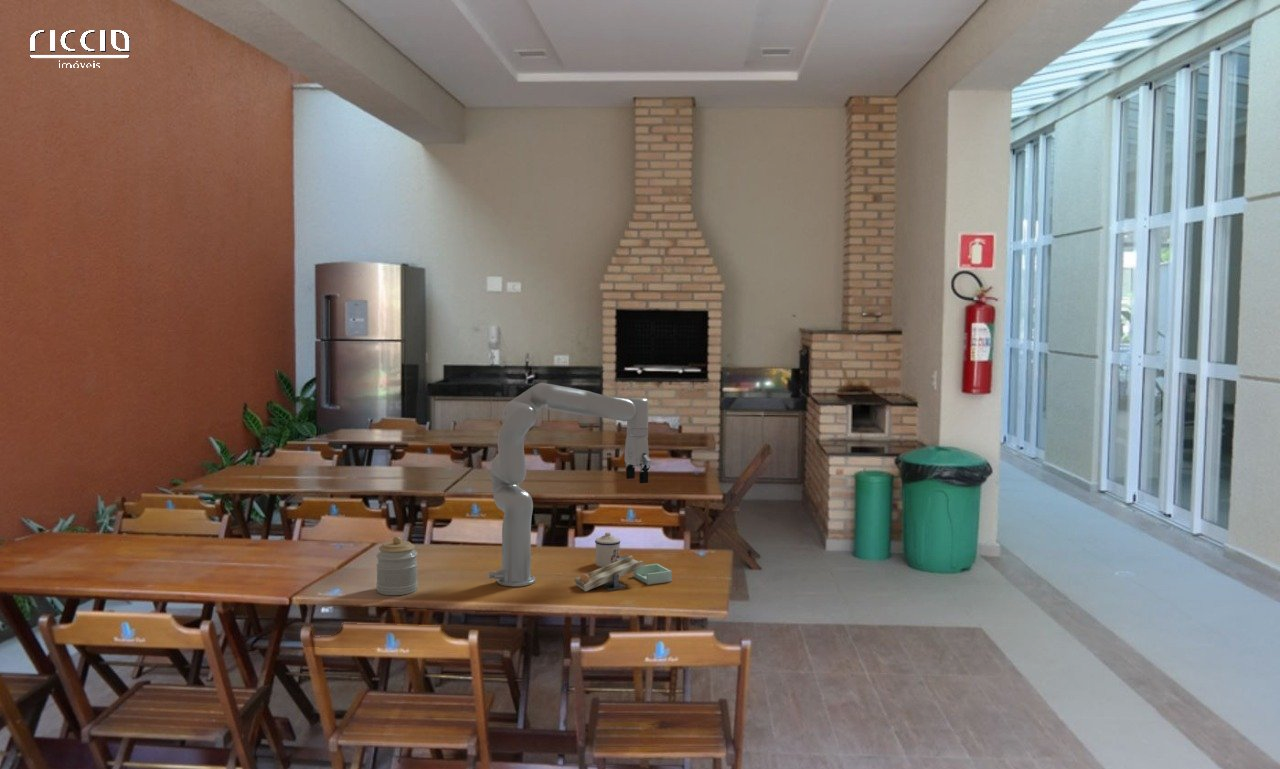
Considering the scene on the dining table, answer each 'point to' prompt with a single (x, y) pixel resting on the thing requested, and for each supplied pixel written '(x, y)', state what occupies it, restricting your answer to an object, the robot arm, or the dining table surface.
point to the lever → (610, 572)
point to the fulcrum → (614, 584)
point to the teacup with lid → (607, 549)
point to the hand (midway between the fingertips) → (636, 480)
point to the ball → (585, 578)
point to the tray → (653, 574)
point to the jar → (397, 568)
